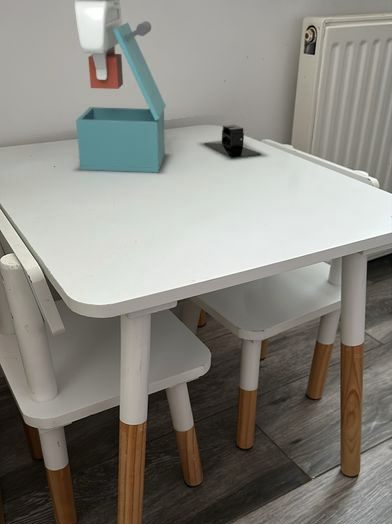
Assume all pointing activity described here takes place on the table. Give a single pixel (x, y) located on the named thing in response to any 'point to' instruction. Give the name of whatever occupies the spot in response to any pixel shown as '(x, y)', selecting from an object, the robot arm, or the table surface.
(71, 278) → the table surface
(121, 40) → the freezer lid
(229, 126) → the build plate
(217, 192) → the table surface
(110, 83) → the red cube
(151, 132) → the box
